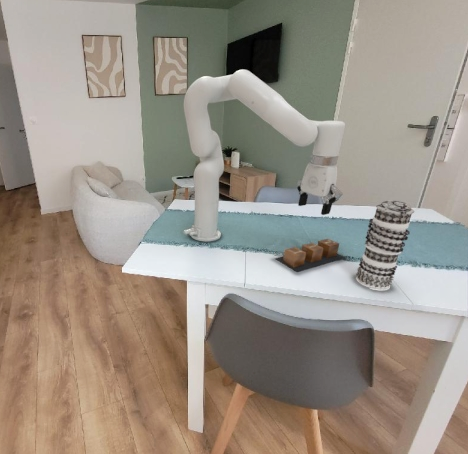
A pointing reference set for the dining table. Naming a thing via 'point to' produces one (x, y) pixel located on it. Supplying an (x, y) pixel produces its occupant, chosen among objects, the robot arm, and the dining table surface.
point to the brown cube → (312, 252)
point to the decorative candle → (384, 244)
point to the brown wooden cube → (294, 257)
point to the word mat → (310, 265)
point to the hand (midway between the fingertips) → (313, 209)
